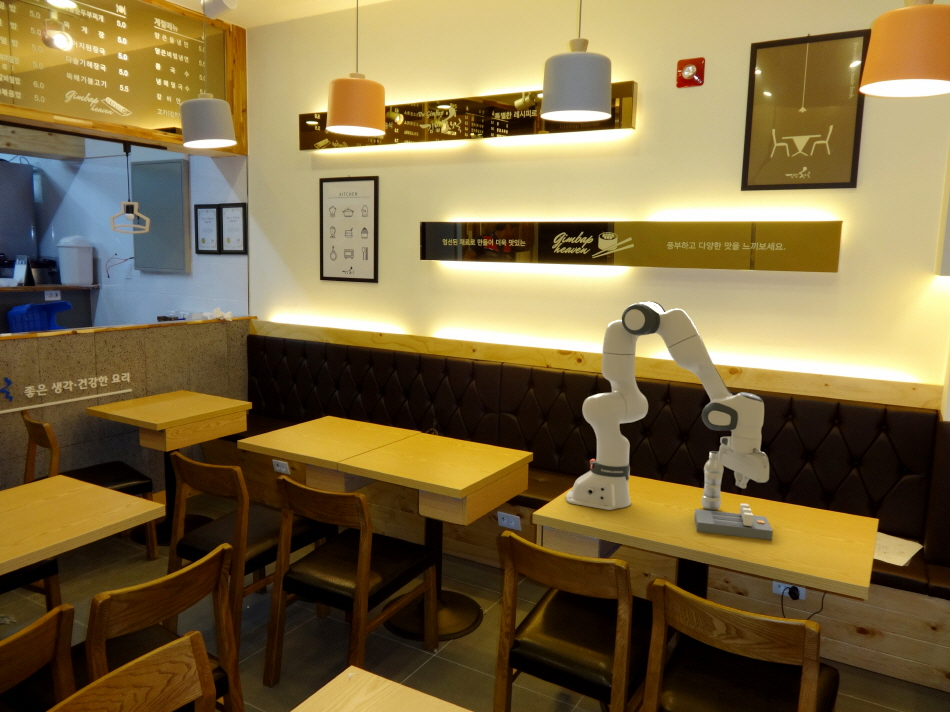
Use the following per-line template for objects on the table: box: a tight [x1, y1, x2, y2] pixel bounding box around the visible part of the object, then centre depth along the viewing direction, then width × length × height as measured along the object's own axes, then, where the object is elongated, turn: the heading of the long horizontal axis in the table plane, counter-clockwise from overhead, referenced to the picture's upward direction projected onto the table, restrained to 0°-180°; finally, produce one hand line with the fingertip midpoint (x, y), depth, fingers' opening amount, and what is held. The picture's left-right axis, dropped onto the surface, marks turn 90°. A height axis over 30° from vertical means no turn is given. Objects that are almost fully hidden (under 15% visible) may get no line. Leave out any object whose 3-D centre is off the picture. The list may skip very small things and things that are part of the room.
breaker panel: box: [694, 508, 773, 541], centre depth 223 cm, size 22×13×3 cm, turn 76°
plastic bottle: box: [701, 450, 724, 511], centre depth 240 cm, size 6×7×20 cm
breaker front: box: [743, 512, 754, 526], centre depth 217 cm, size 2×2×4 cm
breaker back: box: [739, 502, 750, 516], centre depth 226 cm, size 2×2×4 cm
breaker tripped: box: [742, 507, 752, 520], centre depth 222 cm, size 2×2×4 cm
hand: (740, 486), depth 221 cm, fingers closed
